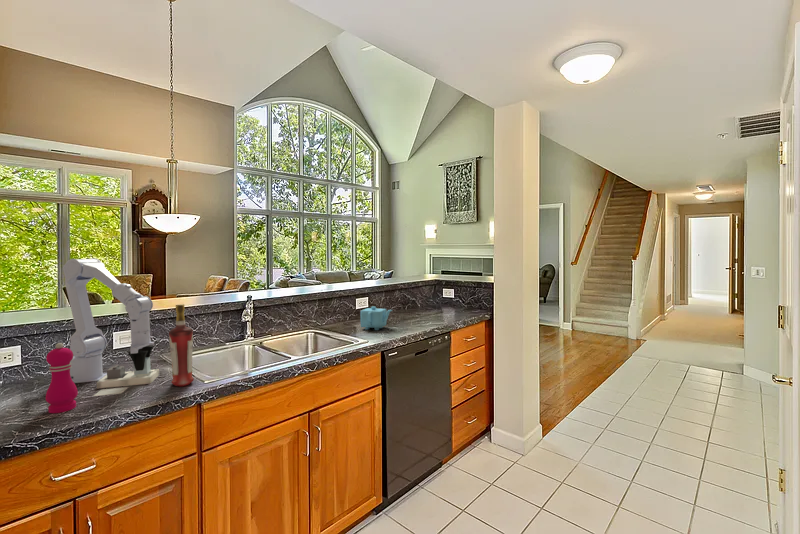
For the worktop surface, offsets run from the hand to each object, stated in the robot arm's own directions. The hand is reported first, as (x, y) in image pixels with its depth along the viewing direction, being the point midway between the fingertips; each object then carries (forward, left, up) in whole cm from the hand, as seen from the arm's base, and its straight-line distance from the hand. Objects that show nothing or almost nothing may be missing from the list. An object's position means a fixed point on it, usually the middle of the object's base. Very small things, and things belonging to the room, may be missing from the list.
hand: (142, 368), depth 140 cm
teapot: (+102, +61, -5) cm, 119 cm away
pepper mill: (-14, -22, -5) cm, 26 cm away
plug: (0, 0, -2) cm, 2 cm away
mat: (-6, -10, -4) cm, 12 cm away
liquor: (+15, -9, -5) cm, 18 cm away
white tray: (-4, 0, -4) cm, 6 cm away
